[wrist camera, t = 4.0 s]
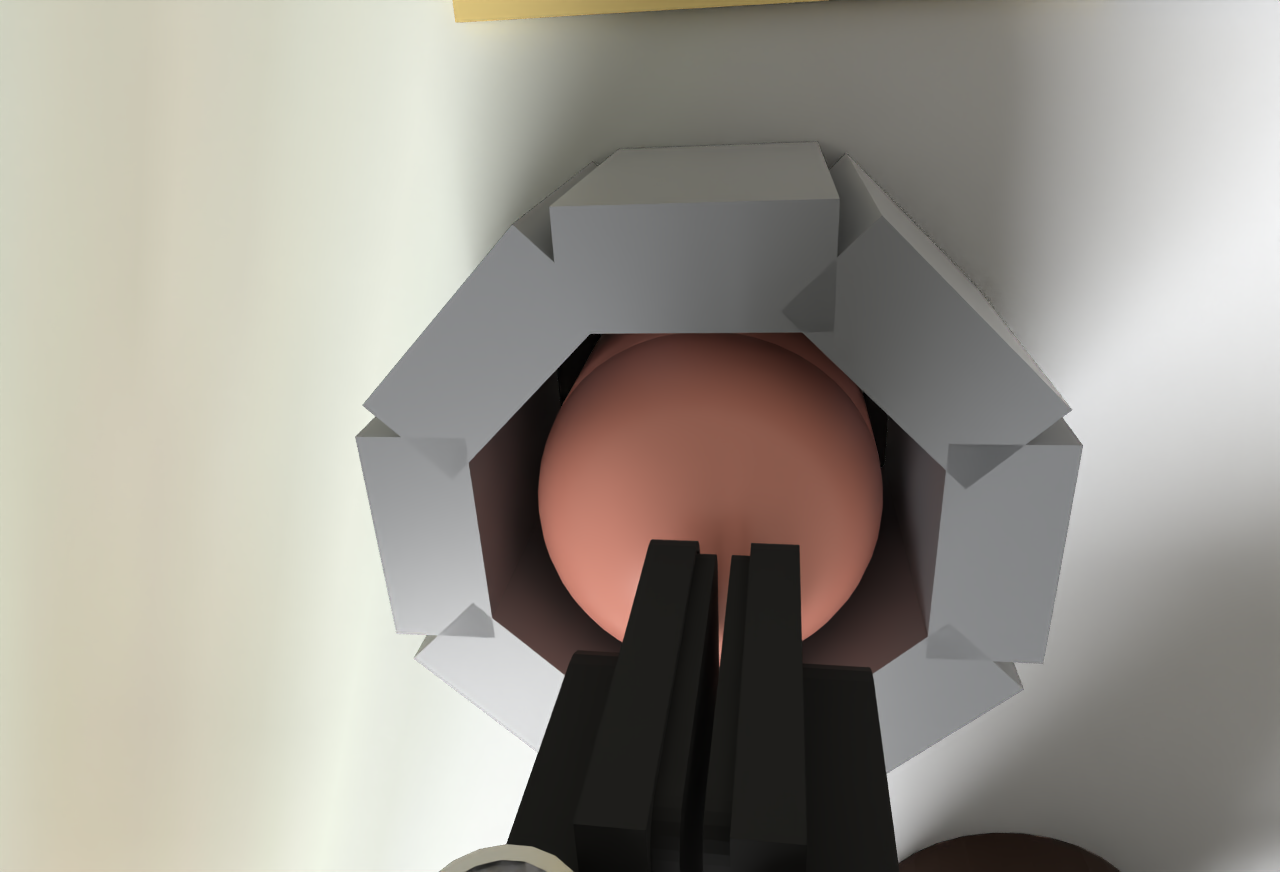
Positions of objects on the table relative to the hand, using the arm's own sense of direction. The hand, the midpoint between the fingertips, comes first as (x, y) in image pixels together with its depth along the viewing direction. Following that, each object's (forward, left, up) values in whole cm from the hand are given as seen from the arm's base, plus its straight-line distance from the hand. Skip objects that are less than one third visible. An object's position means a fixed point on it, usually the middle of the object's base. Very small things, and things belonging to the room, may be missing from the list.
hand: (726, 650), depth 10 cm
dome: (0, 0, -6) cm, 6 cm away
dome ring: (0, 0, -7) cm, 7 cm away
